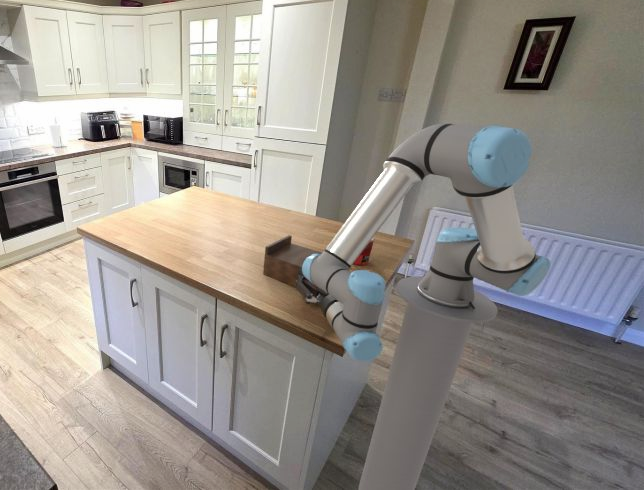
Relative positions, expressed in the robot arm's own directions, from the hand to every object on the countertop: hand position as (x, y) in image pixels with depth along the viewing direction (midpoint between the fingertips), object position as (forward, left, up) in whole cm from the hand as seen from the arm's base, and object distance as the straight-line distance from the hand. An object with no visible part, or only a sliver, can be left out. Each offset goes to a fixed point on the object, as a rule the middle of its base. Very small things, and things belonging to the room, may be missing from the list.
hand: (311, 272), depth 112 cm
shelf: (+10, -8, -7) cm, 14 cm away
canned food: (-2, -35, -7) cm, 35 cm away
